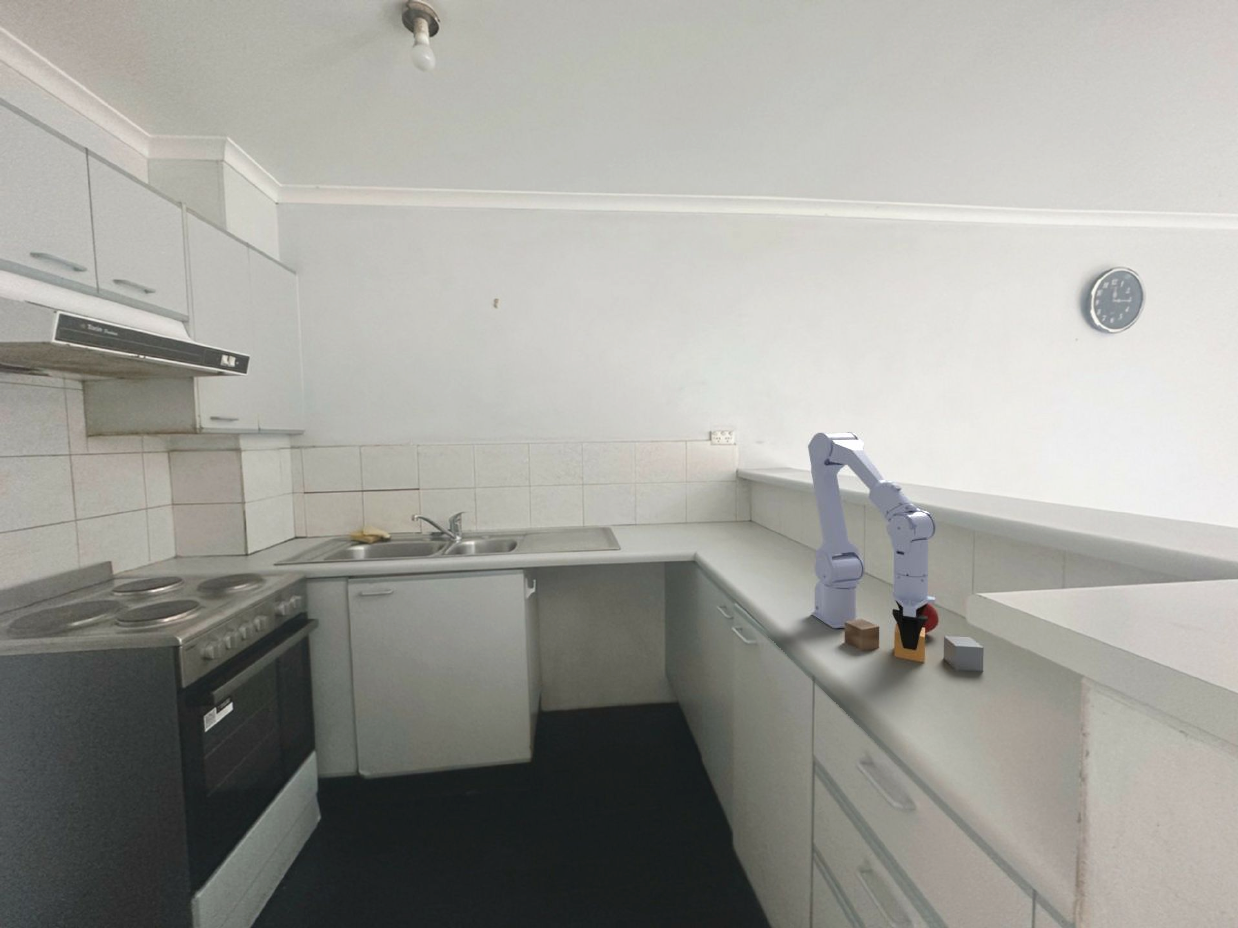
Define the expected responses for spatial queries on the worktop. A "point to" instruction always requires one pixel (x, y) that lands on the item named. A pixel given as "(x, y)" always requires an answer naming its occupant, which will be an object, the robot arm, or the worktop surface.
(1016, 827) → the worktop surface
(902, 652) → the orange block
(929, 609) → the onion
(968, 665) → the slate block
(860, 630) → the walnut block
